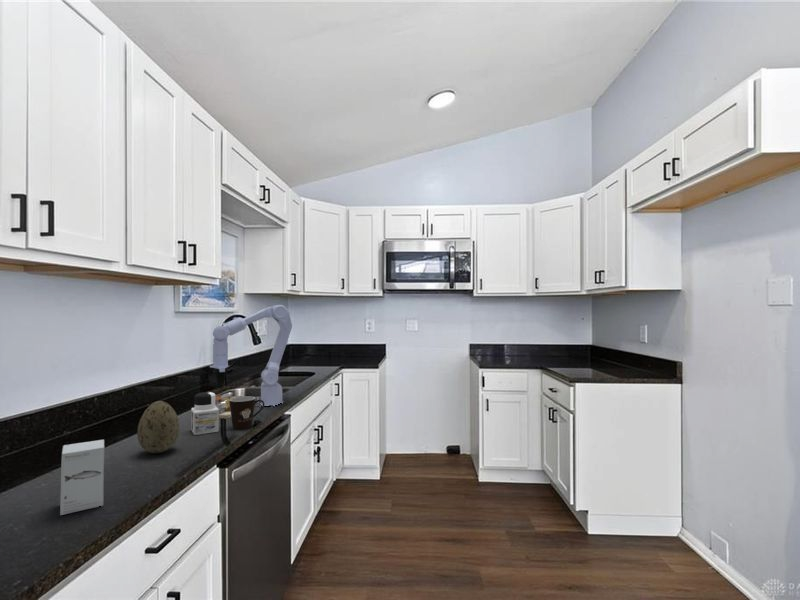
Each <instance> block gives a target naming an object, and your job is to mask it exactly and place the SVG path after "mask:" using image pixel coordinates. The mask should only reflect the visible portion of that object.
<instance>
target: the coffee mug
mask: <svg viewBox="0 0 800 600" xmlns="http://www.w3.org/2000/svg"><path fill="white" fill-rule="evenodd" d="M229 401H230V409H231V417H230V418H231V424H232V425H231V426H232V430H235V431H237V430H238V431H240V430H241V431H242V430H247V429H251V428H252V427H253V419H254V418H255V417H256V416H257V415H258V414H260V413H261V412H262V411H263V409H264V408H265V407H264V401H262V400H261V399H257V400H256V397H255V396H242V397H238V396H237V397H236V398H232V399H230V400H229ZM258 402H260V403H261V402H262V403H263V406H262V407H260V409H259V410H258V411H257V412H256V413H254V411H255V405H256V404H257V403H258Z"/></svg>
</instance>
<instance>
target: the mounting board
mask: <svg viewBox="0 0 800 600" xmlns="http://www.w3.org/2000/svg"><path fill="white" fill-rule="evenodd" d="M223 418H224V419H225V420H227V418H228V419H230V418H231V409H225V410H224V413H222V414H219V419H223Z"/></svg>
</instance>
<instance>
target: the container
mask: <svg viewBox="0 0 800 600" xmlns="http://www.w3.org/2000/svg"><path fill="white" fill-rule="evenodd" d="M215 396H216V394H215V393H214V392H211V391H205V392H204V391H203V392H199V393H196V394H195V395H194V407H191V410H190V411H191V414H190V415H191V416H190V418H191V419H190V421H191V422H190V424H191V425H190V429H191V431H192V434H193V436H196V435H197V436H198V435H204V434H210V433H211V434H212V433H218V432H219V431H220V418H219V409H218V408H217V407H216V406H215V403H216V401H215Z"/></svg>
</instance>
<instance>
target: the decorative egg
mask: <svg viewBox="0 0 800 600" xmlns="http://www.w3.org/2000/svg"><path fill="white" fill-rule="evenodd" d="M179 435H180V421H179V417H178V414H177V413H176V411H175V410H174V408H173V407H172V406H171V405H170V404H169V403H168V402H166V401H163V400H158V401H157V400H156V401H154V402H152V403H151V404H150V405H149V406H148V407H147V408H146V409H145V410H144V412H143V414H142V416H141V418H140V419H139V422H138V425H137V440H138V443H139V445H140V446H141V447H142V449H143V450H144V451H146V452H148V453H151V454H161V453H164V452H167V450H169V449H171V448H172V447H173V446H174V444H175V443H176V442H177V440H178V438H179Z"/></svg>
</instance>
